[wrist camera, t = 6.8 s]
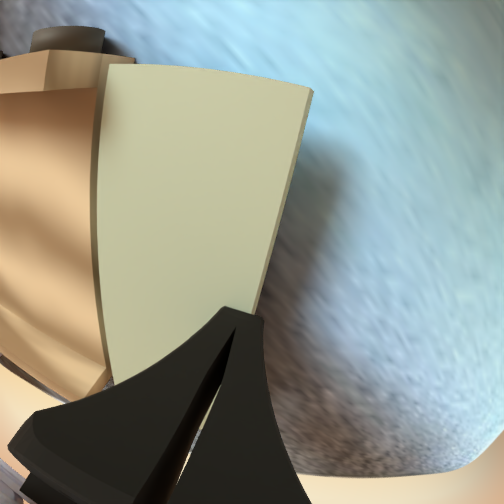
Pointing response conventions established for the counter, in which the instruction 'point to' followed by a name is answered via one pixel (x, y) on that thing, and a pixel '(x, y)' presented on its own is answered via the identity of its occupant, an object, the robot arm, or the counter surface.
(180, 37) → the counter surface
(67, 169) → the cart bed
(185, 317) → the panel
